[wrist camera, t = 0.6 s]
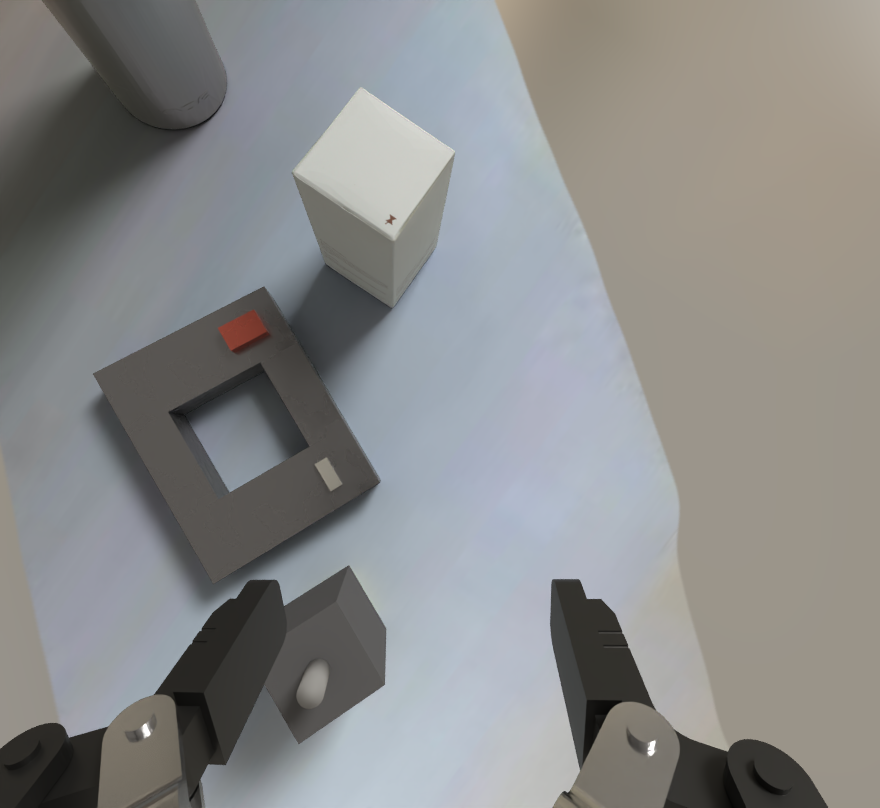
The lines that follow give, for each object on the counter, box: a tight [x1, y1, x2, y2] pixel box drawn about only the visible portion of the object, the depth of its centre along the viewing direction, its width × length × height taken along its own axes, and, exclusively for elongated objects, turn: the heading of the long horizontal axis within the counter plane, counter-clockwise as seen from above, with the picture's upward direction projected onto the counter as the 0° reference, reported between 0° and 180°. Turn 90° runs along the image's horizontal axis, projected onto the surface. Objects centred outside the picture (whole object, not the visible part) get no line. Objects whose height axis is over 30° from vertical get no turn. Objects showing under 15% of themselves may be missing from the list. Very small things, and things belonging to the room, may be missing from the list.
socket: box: [93, 287, 381, 584], centre depth 34 cm, size 18×14×3 cm
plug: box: [264, 566, 386, 744], centre depth 29 cm, size 6×6×13 cm
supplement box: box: [292, 88, 455, 308], centre depth 32 cm, size 7×7×13 cm
